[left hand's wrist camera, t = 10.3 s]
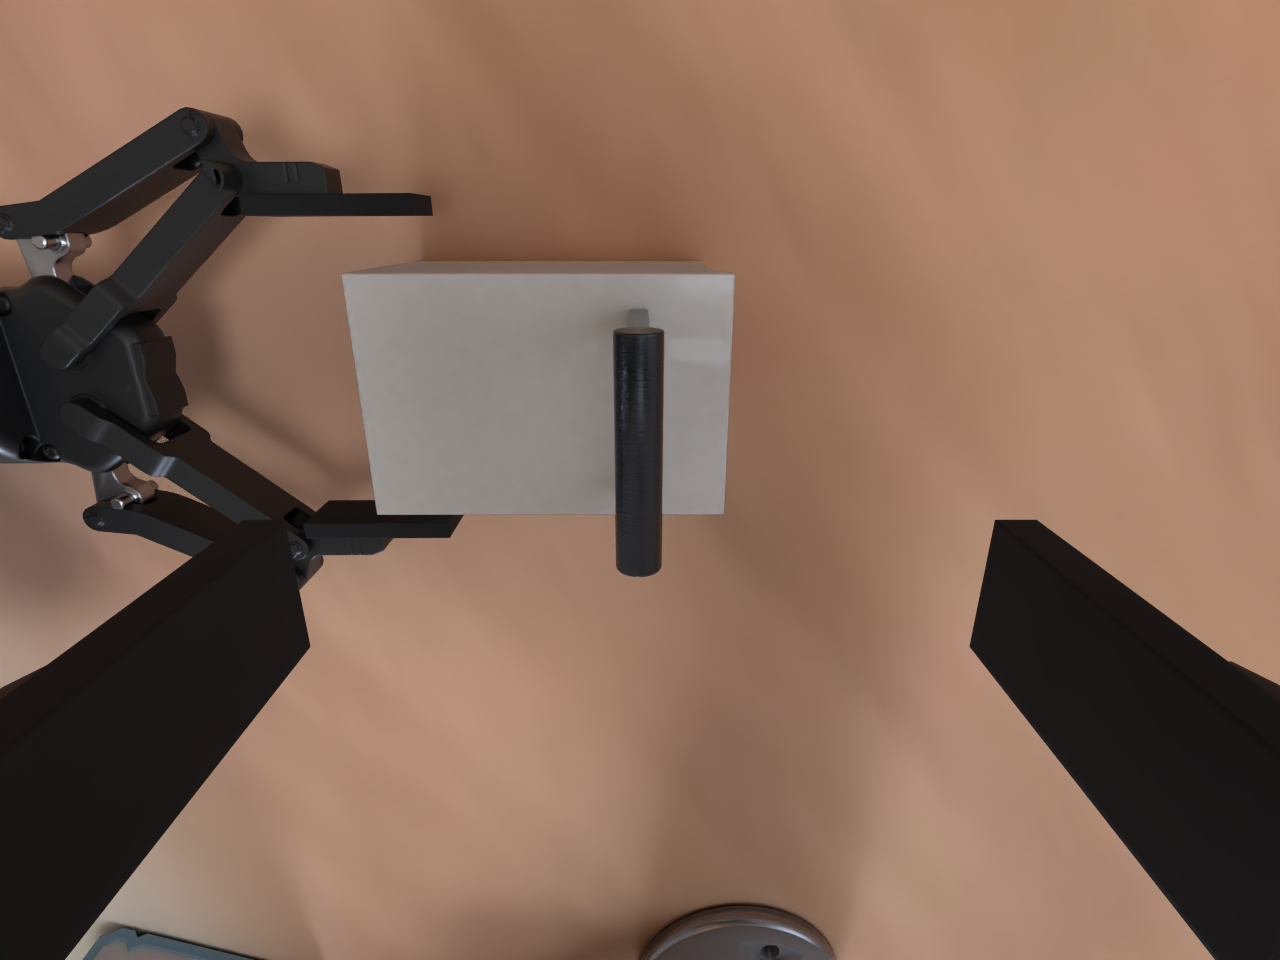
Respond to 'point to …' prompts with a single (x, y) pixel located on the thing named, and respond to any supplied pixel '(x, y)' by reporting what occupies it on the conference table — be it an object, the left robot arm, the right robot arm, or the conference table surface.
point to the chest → (547, 266)
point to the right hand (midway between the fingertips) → (441, 374)
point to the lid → (546, 395)
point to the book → (150, 948)
